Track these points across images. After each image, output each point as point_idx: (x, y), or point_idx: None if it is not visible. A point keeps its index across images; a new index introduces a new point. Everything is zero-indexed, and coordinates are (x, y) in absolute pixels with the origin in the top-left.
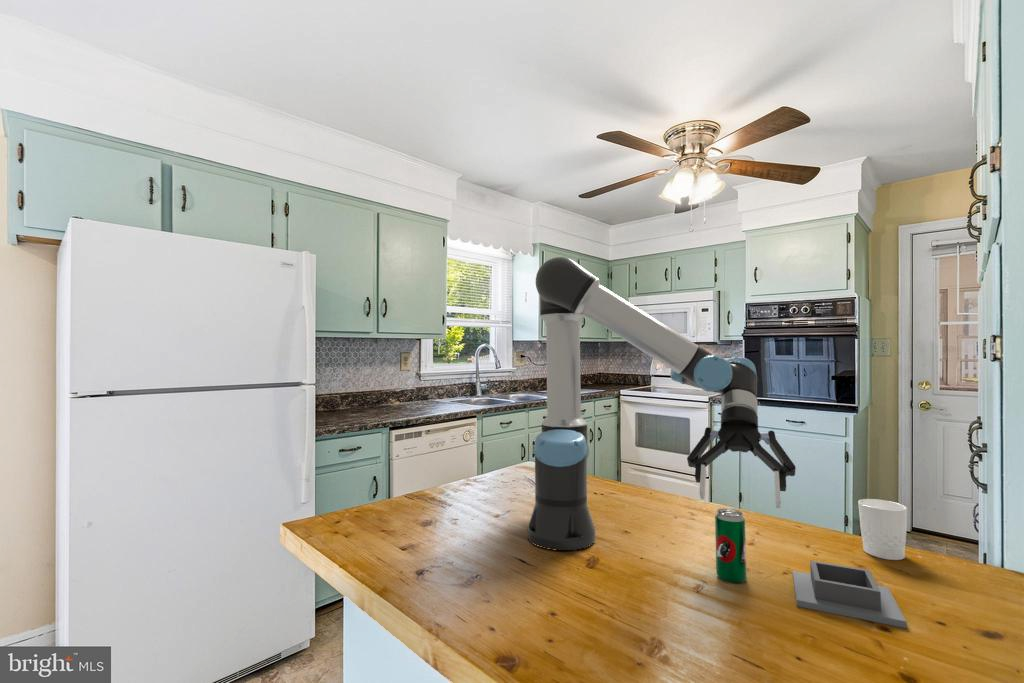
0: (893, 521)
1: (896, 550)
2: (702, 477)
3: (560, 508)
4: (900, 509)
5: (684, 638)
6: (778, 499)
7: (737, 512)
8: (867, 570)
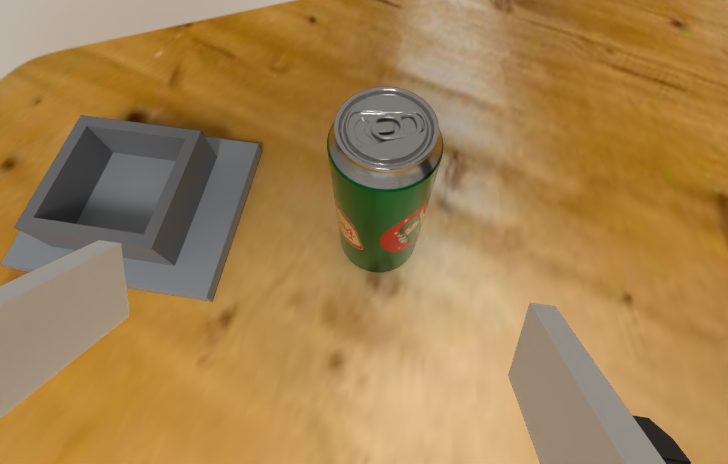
0: None
1: None
2: (594, 388)
3: None
4: None
5: (465, 20)
6: (102, 244)
7: (352, 141)
8: (22, 222)
